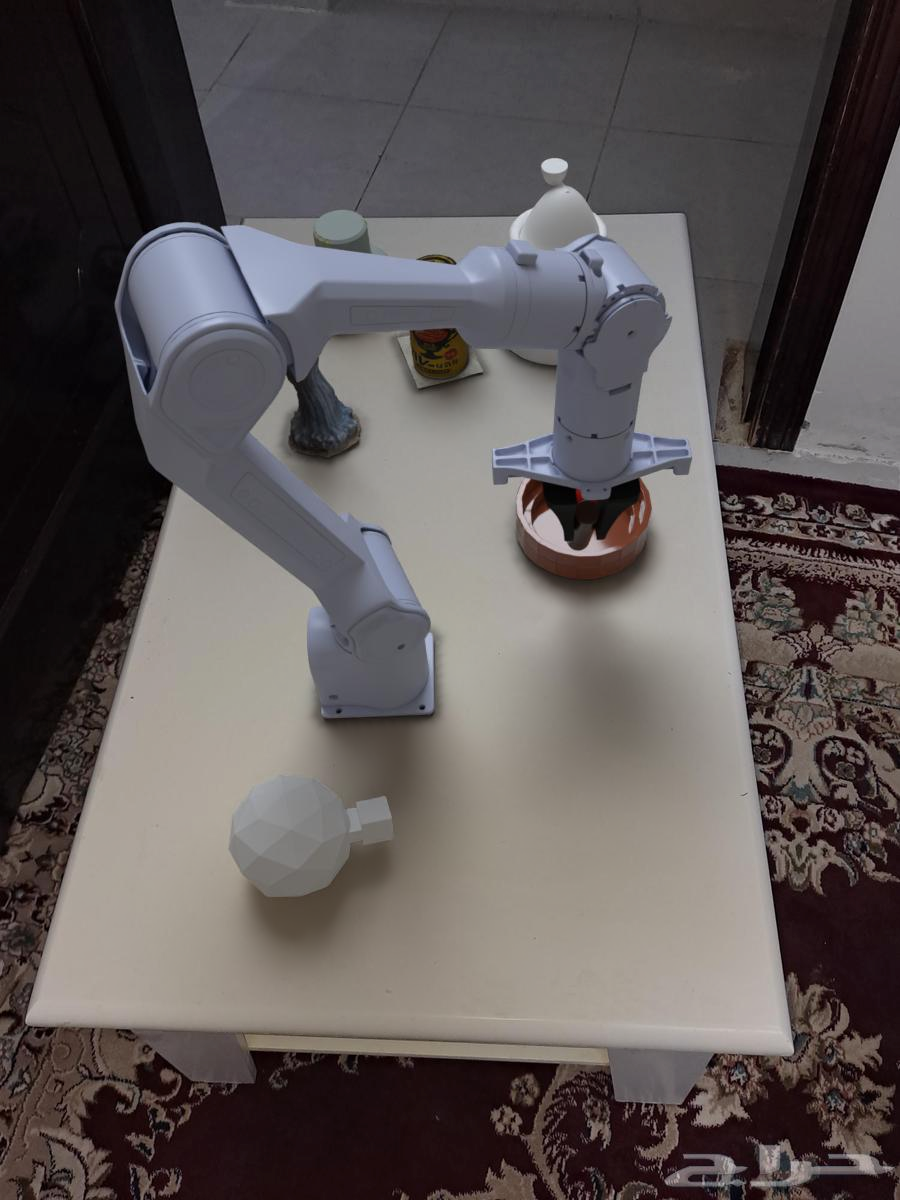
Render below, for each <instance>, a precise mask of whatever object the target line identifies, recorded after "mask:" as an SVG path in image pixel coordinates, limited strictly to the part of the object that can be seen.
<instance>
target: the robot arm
mask: <svg viewBox="0 0 900 1200" xmlns="http://www.w3.org/2000/svg"><path fill="white" fill-rule="evenodd" d="M220 229H221V232H222V233H221V232H219V231H217V230H216V229H214V228H212V227H209V226H208V225H205V224H201V223H200V224H197V223H196V222H188V221H186V222H185V221H183V222H172V223H169V224H165V225H162V226H159V227H157V228H155V229H153V230H151V231H149V232H148V233H146V234H144V235H143V236H142V237H141V238H140V239H139V240H137V242H136V243H135V244H134V246H133V247H132V248H131V249H130V251H129V253H128V255H127V256H126V260H125V262H124V266H123V270H122V273H121V277H120V281H119V284H118V288H117V292H116V296H115V300H114V310H115V314H116V319H117V322H118V327H119V332H120V336H121V341H122V345H123V350H124V356H125V357H124V358H125V362H126V370H127V376H128V381H129V388H130V394H131V400H132V406H133V407H132V408H133V413H134V419H135V424H136V428H137V431H138V433H139V436H140V439H141V442H142V445H143V448H144V451H145V453H146V457H147V460H148V463H149V464H150V465H151V466H152V467H153V469H154V470H155V471H156V472H158V473H159V474H161V475H162V476H163V477H164V478H166V479H167V480H168V481H170V482H171V483H172V484H173V485H175V486H176V487H177V488H179V489H180V490H181V491H183V492H184V493H185V494H186V495H188V496H189V497H191V498H192V499H193V500H195V502H197V503H198V504H200V505H201V506H202V507H203V508H205V509H206V510H207V511H209V512H210V513H211V514H212V515H214V517H216V518H218V519H219V520H220V521H222V522H223V523H224V524H225V525H227V526H228V527H229V528H230V529H232V530H233V531H235V532H236V533H237V534H238V535H240V536H241V537H242V538H244V539H245V540H246V541H247V542H249V543H250V544H252V545H253V546H254V547H255V548H257V549H258V550H259V551H260V552H262V553H263V554H265V556H267V557H268V558H269V559H271V560H272V561H274V563H276V564H277V565H279V566H280V567H281V568H283V569H284V570H285V571H286V572H287V573H289V574H290V575H291V576H293V577H294V578H296V579H297V580H298V581H300V582H301V583H302V584H304V586H306V587H307V588H309V589H310V590H311V591H312V592H313V594H314V595H315V597H316V599H317V600H318V601H319V603H320V604H321V605H317V606H312V607H310V609H309V611H308V616H307V627H306V648H307V659H308V660H307V661H308V665H309V671H310V674H311V677H312V681H313V683H314V686H315V689H316V692H317V695H318V699H319V702H320V705H321V708H320V713H321V716H322V717H323V719H347V718H348V719H351V718H371V717H372V718H373V717H394V716H395V717H398V716H420V715H421V716H423V715H431V714H433V713H434V711H435V663H434V662H435V653H434V652H435V649H434V647H435V646H434V642H435V641H434V634H433V633H432V632H430V631H431V627H432V621H431V617H430V615H429V613H428V612H427V610H426V609H424V608H423V606H422V604H421V603H420V600H419V598H418V595H416V592H415V590H414V588H413V586H412V583H411V582H410V580H409V578H408V576H407V574H406V572H405V570H404V568H403V567H402V565H401V561H400V560H399V558H398V556H397V554H396V552H395V550H394V548H393V546H392V544H393V543H392V541H391V539H390V536H389V533H388V531H386V530H385V529H384V528H383V527H381V526H379V525H377V524H373V523H368V522H363V521H362V520H361V521H360V520H359V519H358V518H355V516H353V515H352V514H351V513H350V512H344V513H341V514H338V513H337V512H336V511H335V510H333V509H332V508H331V506H329V505H328V504H327V503H326V502H325V501H324V500H322V498H321V497H320V496H318V494H316V493H315V492H314V491H313V490H312V489H311V488H310V487H309V486H308V485H306V484H305V483H304V482H303V481H302V480H301V478H299V477H298V476H297V475H296V474H295V473H294V472H292V471H291V469H290V468H288V467H287V466H286V465H285V464H284V463H283V462H282V461H281V460H280V459H279V458H277V456H275V455H274V453H272V452H271V451H270V450H269V449H268V448H267V447H266V446H265V445H264V444H263V443H261V442H260V441H259V439H257V437H255V436H254V435H253V434H252V433H251V431H252V430H253V428H254V427H255V425H257V423H258V422H259V420H260V419H261V418H262V417H263V416H264V414H265V413H266V411H267V410H268V409H269V407H270V406H271V405H272V404H273V402H274V401H275V399H276V398H277V396H278V395H279V393H280V392H281V390H282V388H283V386H284V383H285V381H286V378H287V376H286V373H287V365H289V367H290V369H291V371H292V373H293V375H294V377H295V379H296V381H297V382H300V381H302V380H303V379H305V378H306V376H307V375H308V373H309V371H310V370H311V368H312V366H313V365H314V363H315V362H316V360H317V358H318V357H319V358H320V356H321V354H322V353H321V352H323V350H324V348H325V347H326V346H327V344H328V342H329V340H330V339H331V338H332V337H334V336H337V335H353V334H371V333H373V334H374V333H389V332H404V331H407V332H408V331H409V330H426V329H443V328H456V330H457V331H458V333H459V334H460V336H461V337H462V339H463V340H464V341H465V342H466V343H467V344H468V345H470V346H471V347H472V349H477V350H510V349H535V350H558V357H557V365H556V377H555V378H556V379H555V396H554V412H553V430H552V431H553V432H550V433H546V434H544V435H541V436H538V437H534V438H532V439H528V440H526V441H523V442H520V443H516V444H512V445H509V446H504V447H495V448H491V468H492V469H491V470H492V471H491V472H492V483H493V485H494V486H499V485H500V486H501V485H507V484H508V483H509V479H511V478H524V479H525V478H530V479H534V480H539V481H542V485H543V495H544V500H545V502H546V504H547V507H548V508H550V509H551V510H552V511H553V512H554V514H555V515H556V516H557V518H558V520H559V521H560V524H561V526H562V529H563V533H564V541H566V542H568V541H573V540H574V517H575V512H576V508H577V505H578V503H577V496H576V489H579V490H580V491H581V496H582V498H584V499H585V500H596V504H597V505H598V506H599V508H600V516H599V519H598V522H597V524H596V527H595V532H596V539H597V540H604V539H605V538H606V535H607V533H608V532H609V530H610V528H611V527H612V525H613V523H614V522H615V521H616V519H617V518H618V517H619V516H620V515H621V514H622V513H623V512H624V511H625V510H626V509H627V508H629V507H630V506H632V505H634V504H636V503H637V501H638V499H639V496H640V492H641V487H640V481H639V478H642V477H645V476H648V475H651V474H654V473H657V472H661V471H663V470H672V473H673V474H674V475H675V476H688V475H689V474H690V470H691V465H692V461H693V454H692V449H691V446H690V441H689V438H688V437H678V438H677V437H668V436H660V435H656V434H652V433H645V432H641V431H637V430H635V429H636V422H637V415H638V408H639V402H640V395H641V389H642V381H643V376H644V373H646V372H648V369H649V361H650V358H651V356H652V354H653V352H654V351H655V350H656V348H657V347H658V346H659V345H660V344H661V342H662V341H663V340H664V338H665V337H666V335H667V333H668V331H669V329H670V327H671V324H672V321H673V316H672V315H669V313H668V312H667V310H666V308H667V304H666V298H665V295H664V294H663V293H662V291H661V290H660V289H659V287H658V286H657V285H656V284H655V283H654V281H652V280H651V279H650V277H649V276H648V275H647V274H646V272H645V271H643V269H642V268H641V267H640V266H639V265H638V264H637V262H636V261H635V260H634V259H633V257H632V256H631V255H630V254H629V253H628V252H627V251H626V249H625V248H624V247H623V246H622V245H620V244H618V243H617V242H616V240H614V239H613V238H611V237H609V236H608V237H604V236H601V235H600V234H598V233H594V234H589V235H586V236H583V237H581V238H579V239H577V240H575V241H574V242H572V243H570V244H569V245H567V246H566V247H563V248H553V250H552V251H550V250H536V249H533V248H532V246H531V245H530V244H529V243H528V241H526V240H513V239H511V240H509V239H508V241H507V245H506V247H504V246H491V245H490V246H489V245H478V246H475V247H473V248H471V250H469V251H468V252H467V253H466V254H465V255H464V256H463V257H461V259H460V260H459V261H458V262H456V263H457V264H456V265H451V264H443V263H436V262H428V261H421V260H416V259H412V258H404V257H397V256H390V255H388V256H383V255H375V254H368V253H360V252H353V251H345V250H338V249H330V248H323V247H315V245H307V244H302V243H298V242H294V241H291V240H288V239H286V238H283V237H280V236H277V235H275V234H271V233H269V232H266V231H262V230H260V229H257V228H254V227H251V226H248V225H245V224H235V225H222V226H220ZM222 234H223V235H222ZM265 319H266V320H267V322H268V324H267V322H266V320H265ZM320 353H321V354H320ZM319 355H320V356H319ZM421 708H424V709H421ZM338 711H340V712H339V713H338Z"/></svg>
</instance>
